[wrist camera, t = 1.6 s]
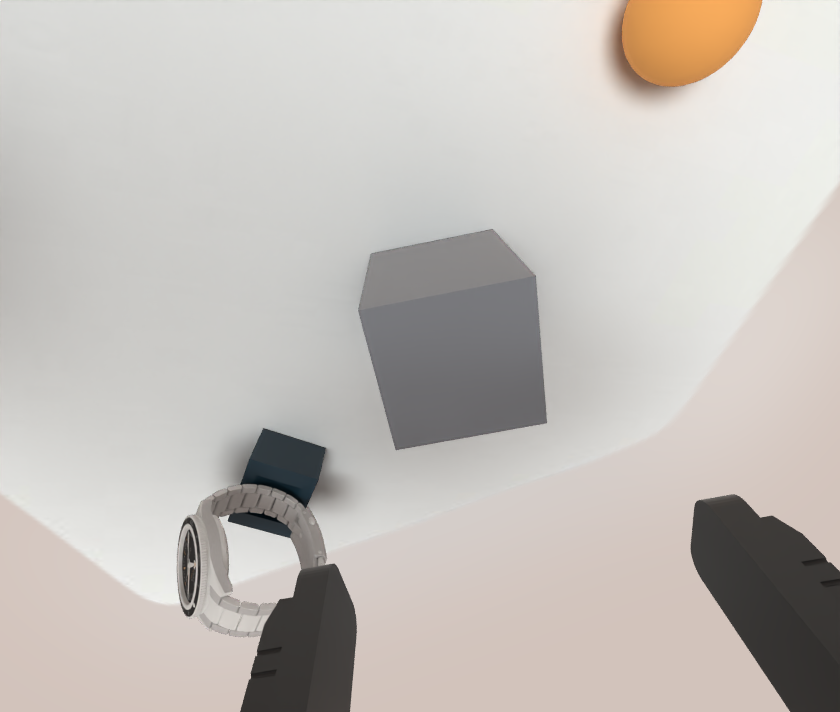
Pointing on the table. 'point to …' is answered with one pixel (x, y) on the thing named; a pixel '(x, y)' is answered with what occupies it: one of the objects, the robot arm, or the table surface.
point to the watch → (257, 508)
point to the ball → (685, 37)
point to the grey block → (454, 339)
